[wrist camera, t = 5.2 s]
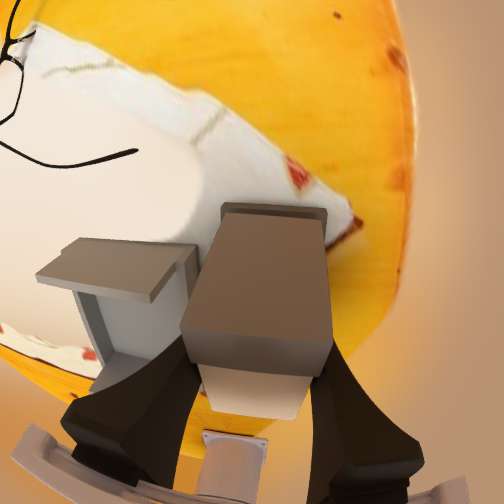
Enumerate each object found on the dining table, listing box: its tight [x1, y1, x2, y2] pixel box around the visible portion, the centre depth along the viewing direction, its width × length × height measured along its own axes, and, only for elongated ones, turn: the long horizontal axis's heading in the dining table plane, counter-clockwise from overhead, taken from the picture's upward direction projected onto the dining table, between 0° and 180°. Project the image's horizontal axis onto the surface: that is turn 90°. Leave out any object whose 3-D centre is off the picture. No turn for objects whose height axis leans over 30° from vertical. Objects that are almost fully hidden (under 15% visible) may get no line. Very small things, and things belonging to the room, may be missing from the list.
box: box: [179, 213, 333, 420], centre depth 14 cm, size 8×5×7 cm, turn 178°
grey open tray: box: [35, 238, 205, 394], centre depth 19 cm, size 12×10×6 cm
